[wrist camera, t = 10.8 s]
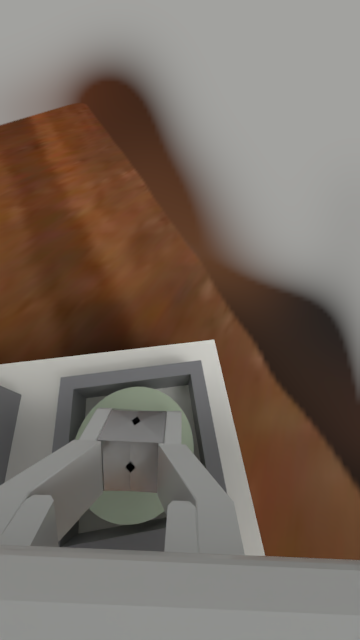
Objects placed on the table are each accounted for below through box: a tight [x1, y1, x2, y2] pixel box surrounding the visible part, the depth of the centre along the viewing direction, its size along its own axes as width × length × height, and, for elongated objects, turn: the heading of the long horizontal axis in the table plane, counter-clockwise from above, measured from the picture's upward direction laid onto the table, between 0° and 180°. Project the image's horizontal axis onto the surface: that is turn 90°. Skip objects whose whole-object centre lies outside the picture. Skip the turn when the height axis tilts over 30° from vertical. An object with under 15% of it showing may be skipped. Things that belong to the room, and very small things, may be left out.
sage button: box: [75, 387, 194, 525], centre depth 10 cm, size 4×4×2 cm
